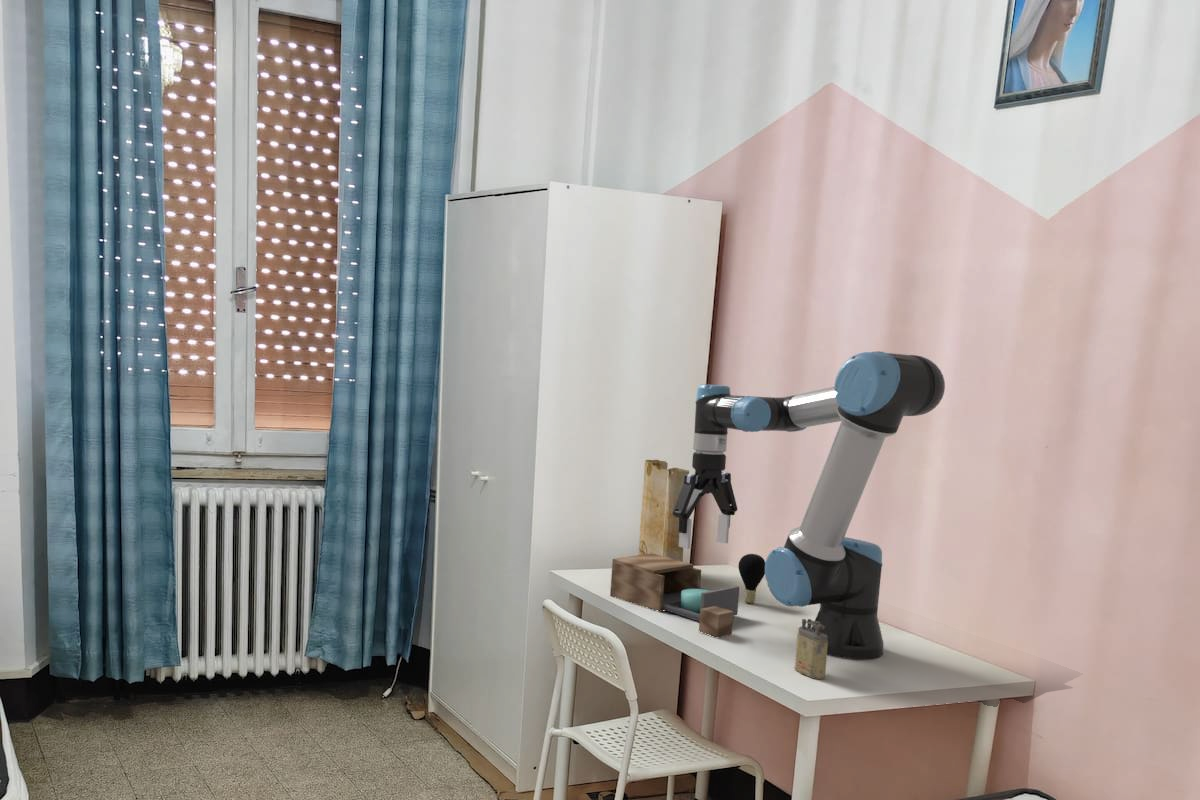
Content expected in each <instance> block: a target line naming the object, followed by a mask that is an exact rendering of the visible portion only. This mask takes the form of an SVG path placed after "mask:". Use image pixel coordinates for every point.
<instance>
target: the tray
mask: <svg viewBox="0 0 1200 800" xmlns="http://www.w3.org/2000/svg"><path fill="white" fill-rule="evenodd" d="M708 591H709V592H703V593H701V606H700V609H703V608H708V607H713V606H717V607H720V608H724V609H727V610H730V611H733V617H734V616H737V615H738V613H739V611H738V610H739V599H740V598H739V597H740V586H737V585H734V586H730V587H725V588H719V589H715V590H708ZM680 606H681V593H680V592H675V593H670V594H665V595H663V604H662V609H663V610H666V611H667V612H670V613H673V614H676V615H679V616H683V617H685V618H688V619H691V620H695V621H696V622H697V621H698V622H699V621H700V613H696V612H692V611H688V610H685V609H682V608H681V607H680ZM666 611H665V612H666Z"/></svg>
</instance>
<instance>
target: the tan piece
mask: <svg viewBox="0 0 1200 800" xmlns="http://www.w3.org/2000/svg"><path fill="white" fill-rule="evenodd" d="M668 465H669V464H668V462H667V461H665V460H659V459H647V460H645V461H644V473H643V483H642V484H643V486H642V497H641V498H642V499H641V510H640V512H641V513H640V525H639V529H640V530H639V540H638V541H639V542H638V555H644V554H651V553H653V554H657V555H660V556H664V557H668V558H671V559H675V560H679V561H683V559H684V548H683V547H679V518H678V517H676V516H675V515H673V510H674V507H675V505H676V502H677V500H678V497H679V494H680V492H681V489H682V487H683V484H684V477H685V474H690V470H689V469H688V470H687V469H684V468H679V467H671V468H668ZM679 511H680V510H679ZM683 562H684V561H683Z"/></svg>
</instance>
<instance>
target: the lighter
mask: <svg viewBox="0 0 1200 800" xmlns="http://www.w3.org/2000/svg"><path fill="white" fill-rule="evenodd" d="M806 625H807V626H806ZM812 626H813V628H814V629H813V628H812ZM820 628H821V629H824V628H825V626H824V625H822V624H821V622H819V621H815V620H812V619H810V618H808V619H806V618H802V619H801V626H800V627H798V630H797V631H798V632H797V637H796V648H795V661H794V667H793V668H794V670H795V671H796V672H799V673H800V675H805V676H807V677H808V678H811V679H818V680H823V679H826V669H827V658H828V657H827V655H828V654H827V647H828V641H827V638H828V636H827V635H826V634H824V633H822V632H820V631H819V629H820Z"/></svg>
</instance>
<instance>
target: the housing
mask: <svg viewBox="0 0 1200 800" xmlns="http://www.w3.org/2000/svg"><path fill="white" fill-rule="evenodd" d="M611 564H612V565H611V576H610V577H611V579H610V591H609V597H612V598H615V597H616V598H615V599H618V598H619V600H621V599H622V601H624V600H625V601H624V602H627V601H628V603H630V602H632V603H631V604H634V603H635V604H634V605H637V604H638V605H637V606H640V605H641V606H640V607H643V606H644V607H643V608H646V607H648V608H647V609H649V608H650V609H649V610H652V609H654V610H653V611H655V610H658V611H661V612H664V611H663V609H662V604H663V595H665V594H670V593H675V592H680V593H681V591H682V590H685V589H701V580H702V578H701V577H702V569H699V568H695V567H694V563H693V564H692V563H689V562H685V561H679V560H675V559H671V558H668V557H664V556H660V555H657V554H653V553H651V554H644V555H631V556H624V557H617V558H612V563H611ZM658 611H657V612H658Z"/></svg>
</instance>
